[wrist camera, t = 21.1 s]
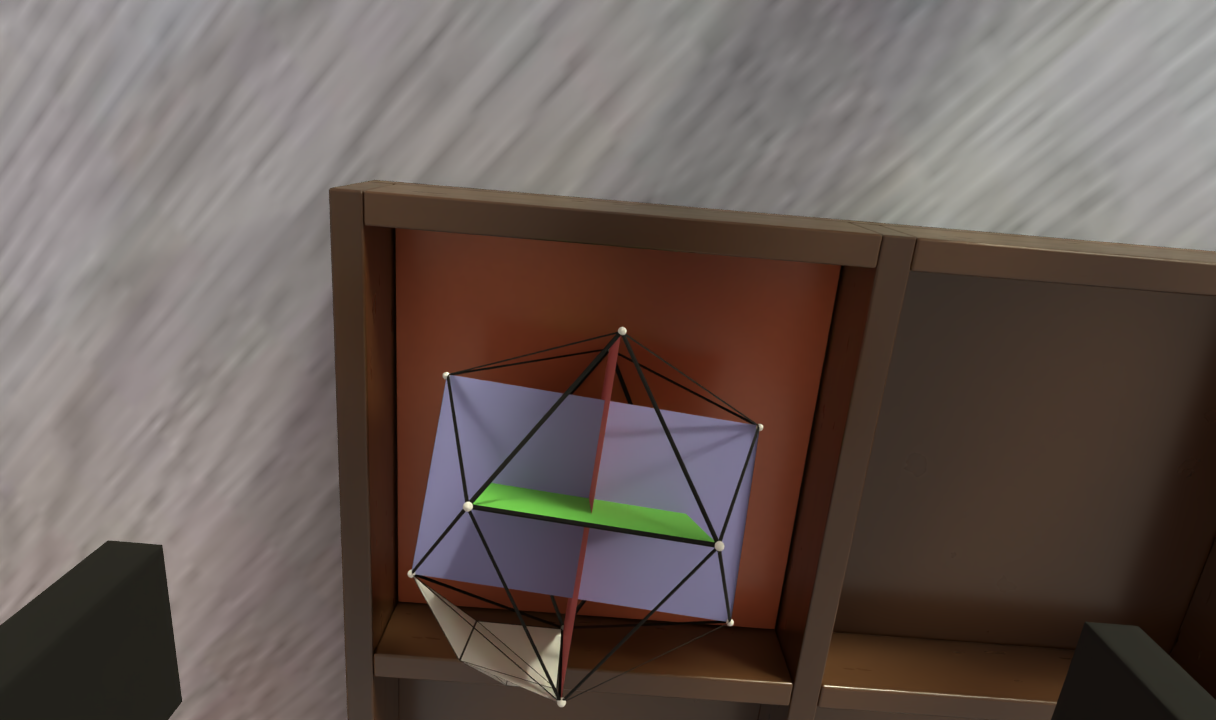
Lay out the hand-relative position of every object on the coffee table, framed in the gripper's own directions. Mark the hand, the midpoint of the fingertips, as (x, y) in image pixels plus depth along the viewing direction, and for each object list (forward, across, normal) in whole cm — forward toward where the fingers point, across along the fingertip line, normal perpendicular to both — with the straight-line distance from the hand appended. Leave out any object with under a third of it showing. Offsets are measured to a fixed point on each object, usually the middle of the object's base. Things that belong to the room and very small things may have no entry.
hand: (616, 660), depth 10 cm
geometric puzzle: (+8, -1, 0) cm, 8 cm away
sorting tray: (+9, +5, -6) cm, 12 cm away
